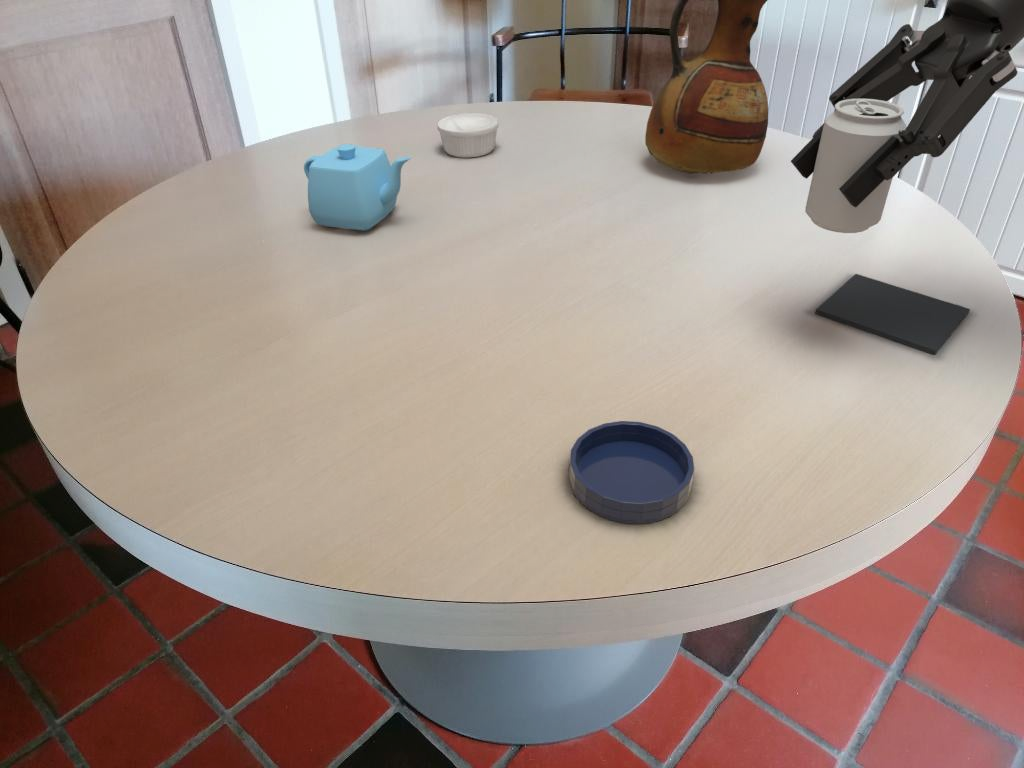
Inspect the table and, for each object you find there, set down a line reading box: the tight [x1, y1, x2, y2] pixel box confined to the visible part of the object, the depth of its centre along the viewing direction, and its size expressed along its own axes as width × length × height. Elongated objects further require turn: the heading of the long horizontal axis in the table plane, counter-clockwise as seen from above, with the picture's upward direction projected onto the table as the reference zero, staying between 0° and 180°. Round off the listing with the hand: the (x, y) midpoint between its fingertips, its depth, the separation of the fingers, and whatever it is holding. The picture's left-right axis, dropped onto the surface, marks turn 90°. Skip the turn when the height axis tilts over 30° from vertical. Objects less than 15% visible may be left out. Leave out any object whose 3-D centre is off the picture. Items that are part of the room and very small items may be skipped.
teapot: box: [303, 143, 412, 232], centre depth 114 cm, size 12×18×12 cm
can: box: [804, 99, 907, 234], centre depth 76 cm, size 8×8×12 cm
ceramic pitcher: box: [644, 0, 769, 175], centre depth 124 cm, size 20×20×30 cm
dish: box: [569, 420, 695, 525], centre depth 68 cm, size 11×11×2 cm
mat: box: [814, 273, 971, 355], centre depth 92 cm, size 14×12×1 cm
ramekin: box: [437, 112, 499, 159], centre depth 141 cm, size 11×11×5 cm
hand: (822, 183), depth 76 cm, fingers closed on can, 7 cm apart
